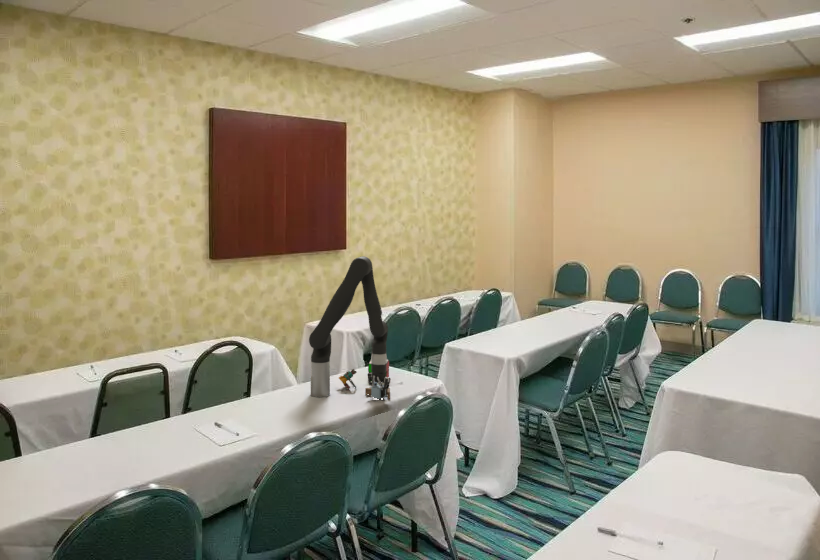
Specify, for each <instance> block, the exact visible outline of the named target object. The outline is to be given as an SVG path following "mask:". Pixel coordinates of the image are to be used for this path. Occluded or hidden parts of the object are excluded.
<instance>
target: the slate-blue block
mask: <svg viewBox="0 0 820 560" xmlns="http://www.w3.org/2000/svg"><path fill="white" fill-rule="evenodd" d="M370 388H371V395H370V396H371V398H373V397H374V398H377V399H380V398H383V397H381V388H380V386H379V384H377V385H376V386H373V387H372V386H370ZM386 396H387V395H386V389H385V396H384V398H386Z"/></svg>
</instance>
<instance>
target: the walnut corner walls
mask: <svg viewBox="0 0 820 560" xmlns="http://www.w3.org/2000/svg"><path fill="white" fill-rule="evenodd" d="M364 394H365V396H371V387H365V392H364ZM367 394H369V395H367ZM386 396H387V399H388V400H390V399H391V388H390V387H389V388H388V389H386Z"/></svg>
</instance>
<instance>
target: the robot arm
mask: <svg viewBox="0 0 820 560" xmlns="http://www.w3.org/2000/svg"><path fill="white" fill-rule="evenodd" d="M373 270H374V268H373V263H372V260H371V259H370V258H369V257H367V256H358V257H356V258H354V259H353V260H352V261H351V262H350V265H349V268H348V270H347V272H346V275H345V277H344V278H343V280H342V282H341V283H340V285H339V286H338V288H337V289H336V291H335V293H334V294H333V296H332V297H331V299H330V301H329V303H328V305H327V307H326V309H325V311H324V313H323V314H322V317H321V319H320V320H319V322H318V324H317V325H316V327H315V328H314V329H313V330H312V332H311V333H310V335H309V338H308V343H309V345H310V347H311V348H312V349H313V350H312V353H311V356H310V396H311V397H314V398H325V397H329V396H330V394H331V393H330V391H331V388H330V387H331V374H330V373H331V370H330V369H331V354H332V335H331V333H332V331H333V329H335V326H337V324H338V323H339V321H340V320H341V319H342V318H343V317H344V316H345V314H346V312H347V311H348V309H349V307H350V306H351V304H352V302H353V300H354V296H355V293H356V290H357V288H358V286H359V284H360V283H361V285H362V291H363V301H364V306H365V310H366V312H367V315H368V325H369V331H370V333H371V334H372V336H373V341H372V343H371V357H370V358H371V359H370V361H371V371H372V373H369V372H367V381H368V385H369V386H370V387H373V386H376V385H379V386H380V388H381V397H384V396H385V389H388V388H390V383H391V377H389V378H387V377H386V374H385V373H386V371H387V360H388V357H387V341H388V340H387V339H388V334H389V330H388V329H389V328H388V327H389V326H388V325H387V323H386V322H385V321H383V318H382V315H383V311H382V308H381V304H380V299H379V296H378V292H377V289H376V285H375V279H374V271H373ZM371 381H372V382H371ZM384 398H385V397H384Z"/></svg>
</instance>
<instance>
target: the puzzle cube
mask: <svg viewBox="0 0 820 560" xmlns="http://www.w3.org/2000/svg"><path fill="white" fill-rule="evenodd" d="M367 365H368V367H367V370H368V371H367V373H372V371H371V360H369V362H368V364H367ZM385 374H386V377H387V378H388V377H389V378H390V360H389V359H387V371H386V373H385Z"/></svg>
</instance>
